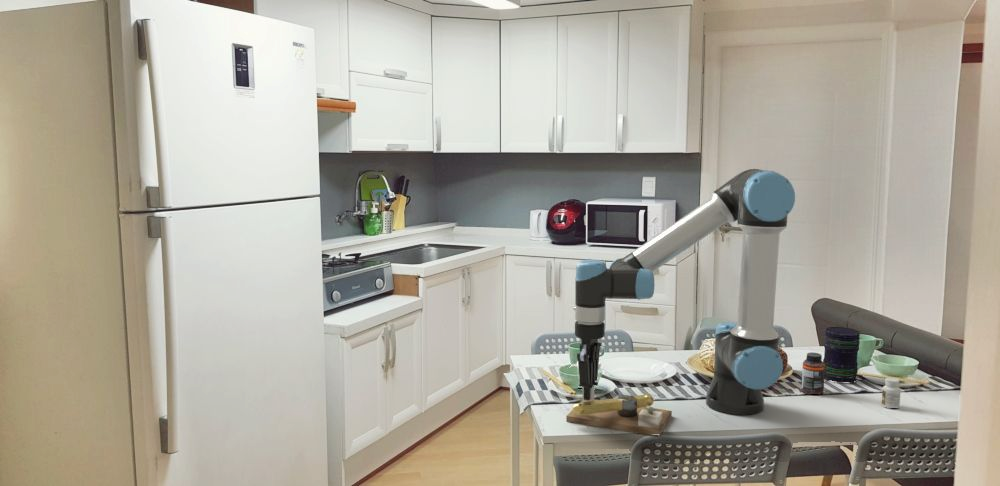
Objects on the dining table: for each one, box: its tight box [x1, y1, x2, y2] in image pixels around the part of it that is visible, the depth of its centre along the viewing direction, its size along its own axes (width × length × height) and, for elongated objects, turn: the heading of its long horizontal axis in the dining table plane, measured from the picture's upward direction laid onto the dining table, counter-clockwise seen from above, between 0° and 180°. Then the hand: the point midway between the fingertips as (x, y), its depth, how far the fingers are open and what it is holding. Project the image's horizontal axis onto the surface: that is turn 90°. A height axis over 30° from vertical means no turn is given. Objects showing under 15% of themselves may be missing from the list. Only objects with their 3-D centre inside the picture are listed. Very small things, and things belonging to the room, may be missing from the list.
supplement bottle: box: [801, 352, 825, 395], centre depth 223 cm, size 6×6×11 cm
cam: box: [572, 394, 655, 417], centre depth 199 cm, size 23×5×4 cm, turn 110°
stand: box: [565, 398, 673, 436], centre depth 201 cm, size 24×15×6 cm, turn 66°
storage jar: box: [822, 326, 861, 382], centre depth 235 cm, size 10×10×15 cm
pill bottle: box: [881, 377, 902, 409], centre depth 211 cm, size 4×4×8 cm
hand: (588, 410), depth 200 cm, fingers closed
